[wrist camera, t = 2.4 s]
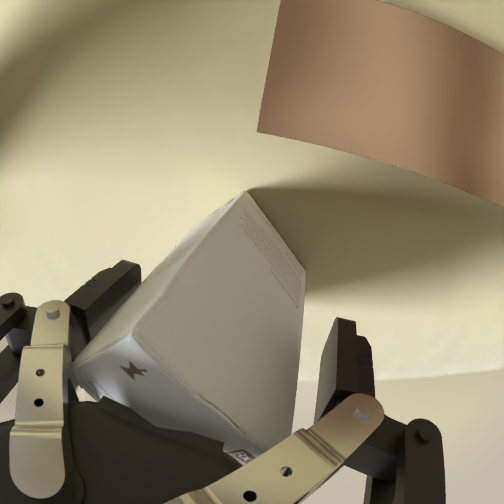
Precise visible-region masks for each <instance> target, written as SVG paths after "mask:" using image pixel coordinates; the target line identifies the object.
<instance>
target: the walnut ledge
mask: <svg viewBox="0 0 504 504" xmlns="http://www.w3.org/2000/svg"><path fill="white" fill-rule="evenodd" d="M257 132H260V133H265V134H270V135H275V136H280V137H285V138H290V139H295V140H299V141H304V142H308V143H312V144H317V145H321V146H325V147H329V148H333V149H337V150H341V151H345V152H348V153H352V154H356V155H359V156H363V157H366V158H370V159H373V160H377V161H380V162H383V163H387V164H390V165H393V166H396V167H399V168H403V169H406V170H409V171H412V172H415V173H418V174H421V175H423V176H426V177H429V178H432V179H435V180H438V181H440V182H443V183H446V184H448V185H451V186H454V187H456V188H459V189H461V190H464V191H466V192H469V193H471V194H474V195H476V196H479V197H481V198H483V199H486V200H488V201H490V202H493V203H495V204H497V205H499V206H502V207H504V55H503V54H502V53H500V52H498V51H497V50H495V49H493V48H491V47H489V46H488V45H486V44H484V43H482V42H480V41H478V40H476V39H474V38H472V37H470V36H468V35H466V34H464V33H462V32H460V31H458V30H456V29H454V28H451V27H449V26H447V25H445V24H442V23H440V22H438V21H435V20H433V19H430V18H428V17H425V16H422V15H420V14H417V13H414V12H412V11H409V10H406V9H403V8H400V7H397V6H394V5H391V4H387V3H384V2H381V1H377V0H281V3H280V8H279V13H278V18H277V24H276V29H275V34H274V39H273V45H272V50H271V55H270V61H269V66H268V72H267V77H266V83H265V88H264V94H263V99H262V105H261V110H260V116H259V122H258V127H257Z"/></svg>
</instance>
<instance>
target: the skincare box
mask: <svg viewBox="0 0 504 504" xmlns="http://www.w3.org/2000/svg"><path fill="white" fill-rule="evenodd" d="M305 284H306V271H305V270H304V268H303V267H302V266H301V264H300V263H299V261H298V260H297V259H296V257H295V256H294V254H293V253H292V252H291V250H290V249H289V248H288V246H287V245H286V243H285V242H284V241H283V239H282V238H281V236H280V235H279V234H278V232H277V231H276V230H275V228H274V227H273V226H272V224H271V223H270V221H269V220H268V219H267V217H266V216H265V215H264V213H263V212H262V211H261V209H260V208H259V207H258V205H257V204H256V202H255V201H254V200H253V198H252V197H251V196H250V194H249V193H248V192H247V191H243V192H241V193H240V194H238V195H237V196H236V197H234V198H233V199H231V200H230V201H228V202H227V203H226V204H224V205H223V206H221V207H220V208H219V209H217V210H216V211H214V212H213V213H212V214H210V215H209V216H208V217H206V218H205V219H204V220H202V221H201V222H200V223H198V224H197V225H196V226H195V227H194V228H193V229H192V230H191V231H190V232H189V234H188V235H187V236H186V237H185V238H184V239H183V240H182V241H181V242H180V243H179V244H178V245H177V246H176V247H175V248H174V249H173V250H172V251H171V252H170V253H169V254H168V255H167V256H166V257H165V258H164V260H163V261H162V262H161V263H160V264H159V265H158V266H157V267H156V268H155V269H154V270H153V271H152V272H151V273H150V275H149V276H148V277H147V278H146V279H145V280H144V281H143V282H142V283H141V284H140V285H139V286H138V288H137V289H136V290H135V291H134V292H133V293H132V294H131V295H130V296H129V297H128V299H127V300H126V301H125V302H124V303H123V304H122V305H121V306H120V308H119V309H118V310H117V311H116V312H115V313H114V314H113V315H112V317H111V318H110V319H109V320H108V321H107V322H106V324H105V325H104V326H103V327H102V329H101V330H100V331H99V333H98V334H97V335H96V336H95V337H94V338H93V339H92V340H91V341H90V342H89V344H88V345H87V346H86V347H85V348H84V349H83V350H82V351H81V353H80V354H79V355H78V356H77V357H76V359H75V360H74V362H73V363H72V365H73V370H74V373H75V376H76V379H77V381H78V383H79V385H80V386H81V387H82V388H83V389H84V390H85V391H86V392H87V393H88V394H89V395H91V396H92V397H93V398H94V399H95V400H96V401H97V402H99V401H100V400H101V398H102V397H103V396H106V397H108V398H110V399H112V400H114V401H117V402H119V403H121V404H123V405H125V406H127V407H130V408H131V409H132V410H134V411H135V412H136V413H138V414H139V415H140V416H142V417H143V418H145V419H146V420H147V421H149V422H150V423H151V424H153V425H154V426H156V427H160V428H166V429H173V430H180V431H187V432H193V433H196V434H199V435H202V436H205V437H208V438H212V439H215V440H218V441H221V442H224V447H223V451H224V452H226V453H228V454H229V455H231V456H232V457H233V458H235V459H236V460H237V461H238V462H239V463H241V464H242V465H243V466H244V465H246V464H247V463H249V462H251V461H252V460H254V459H255V458H257V457H259V456H260V455H262V454H263V453H265V452H266V451H268V450H269V449H271V448H272V447H274V446H275V445H277V444H278V443H280V442H281V441H283V440H284V439H286V438H287V437H289V436H290V435H291V431H292V424H293V416H294V408H295V398H296V390H297V380H298V370H299V360H300V349H301V337H302V326H303V313H304V297H305Z"/></svg>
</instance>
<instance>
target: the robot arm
mask: <svg viewBox="0 0 504 504" xmlns="http://www.w3.org/2000/svg"><path fill="white" fill-rule="evenodd" d="M140 284H141V267H140V265H139V264H136V263H132V262H129V261H126V260H121V261H120V262H119V263H117V264H116V265H115V266H114V267H112V268H108V269H105V270H103V271H100V272H99V273H97V274H96V275H95V276H94V277H92V278H91V280H89V281H87V282H86V283H85V285H83V286H81V287H80V288H79V289H78V290H77V291H75V292H74V293H73V294H72V295H71V296H69V297H68V298H67V299H66V300H65V301H64V302H63V301H60V300H51V301H48V302H45V303H43V304H42V305H41V306H39V308H35V307H29V306H25V303H24V300H23V297H22V296H21V295H20V294H18V293H7V294H4V295H2V296H1V297H0V340H1V339H2V338H3V337H4V336H5V337H6V339H7V341H8V344H9V345H8V346H7V347H6V348H5V349H4V350H3V351H2V352H1V353H0V403H1V402H2V401H3V400H4V398H5V397H6V396H7V395H8V393H9V392H10V391H11V390H12V389H13V387H14V386H15V385H16V383H17V382H18V388H17V399H16V413H15V419H13V420H10V421H6V422H2V423H0V504H301V503H302V502H303V501H304V500H306V499H307V498H308V497H309V496H310V495H311V494H313V493H314V492H315V491H316V490H317V489H318V488H320V487H321V486H322V485H323V484H324V483H325V482H326V481H328V480H329V479H330V478H331V477H332V476H333V475H334V474H336V473H337V472H338V471H339V470H340V469H341V468H342V467H343V466H344V465H345V466H348V467H350V468H352V469H354V470H357V471H359V472H362V473H364V474H366V475H367V480H366V488H365V497H364V503H363V504H446V494H445V471H444V456H443V446H442V436H441V433H440V431H439V429H438V428H437V426H436V425H434V424H433V423H432V422H430V421H429V420H425V419H415V420H413V421H411V422H410V423H409V424H408V425H406V424H403V423H401V422H398V421H396V420H394V419H391V418H389V417H388V416H386V415H385V414H384V409H383V407H382V405H381V404H380V403H379V401H378V400H376V399H375V386H374V372H373V368H372V367H373V361H372V350H371V346H370V344H369V342H368V341H367V339H366V337H363V336H358V335H357V333H356V322H355V321H352V320H347V319H343V318H338V317H336V319H335V321H334V323H333V326H332V329H331V331H330V334H329V336H328V339H327V341H326V344H325V347H324V349H323V353H322V357H321V363H320V373H319V383H318V393H317V402H316V409H315V417H314V425H312V426H311V427H310V428H308V429H307V430H305V429H299V430H298V431H296V432H295V433H293V434H292V435H290V436H289V437H287V438H286V439H284V440H283V441H281V442H280V443H278V444H277V445H275V446H274V447H272V448H271V449H269V450H268V451H266V452H265V453H263V454H262V455H260V456H259V457H257V458H255V459H254V460H252V461H251V462H249V463H247V464H246V465H244V466H243V465H242V464H241V463H239V462H238V461H237V460H236V459H235V458H233V457H232V456H231V455H229V454H228V453H226V452H224V451H223V447H224V442H221V441H218V440H215V439H212V438H208V437H205V436H202V435H199V434H196V433H193V432H187V431H180V430H173V429H166V428H160V427H156V426H154V425H153V424H151V423H150V422H149V421H147V420H146V419H145V418H143V417H142V416H140V415H139V414H138V413H136V412H135V411H134V410H132V409H131V408H130V407H127V406H125V405H123V404H121V403H119V402H117V401H114V400H112V399H110V398H108V397H106V396H103V397H102V398H101V400H100V401H99V402H92V401H86V398H85V390H84V389H83V388H82V387H81V386H80V385H79V383H78V381H77V379H76V376H75V373H74V370H73V365H72V363H73V362H74V360H75V359H76V357H77V356H78V355H79V354H80V353H81V351H82V350H83V349H84V348H85V347H86V346H87V345H88V344H89V342H90V341H91V340H92V339H93V338H94V337H95V336H96V335H97V334H98V333H99V331H100V330H101V329H102V327H103V326H104V325H105V324H106V322H107V321H108V320H109V319H110V318H111V317H112V315H113V314H114V313H115V312H116V311H117V310H118V309H119V308H120V306H121V305H122V304H123V303H124V302H125V301H126V300H127V299H128V297H129V296H130V295H131V294H132V293H133V292H134V291H135V290H136V289H137V288H138V286H139V285H140Z"/></svg>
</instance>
